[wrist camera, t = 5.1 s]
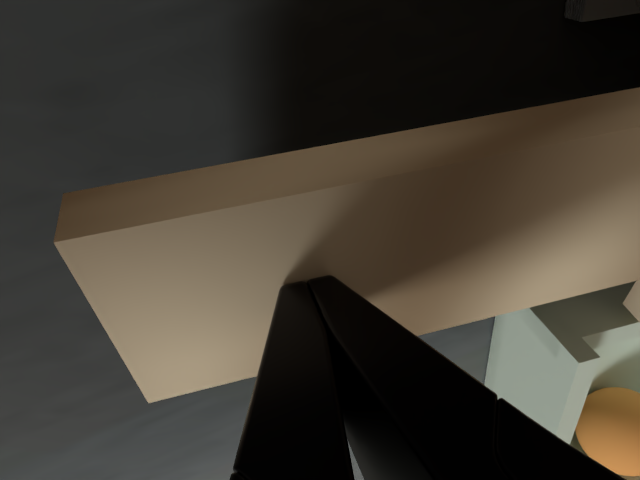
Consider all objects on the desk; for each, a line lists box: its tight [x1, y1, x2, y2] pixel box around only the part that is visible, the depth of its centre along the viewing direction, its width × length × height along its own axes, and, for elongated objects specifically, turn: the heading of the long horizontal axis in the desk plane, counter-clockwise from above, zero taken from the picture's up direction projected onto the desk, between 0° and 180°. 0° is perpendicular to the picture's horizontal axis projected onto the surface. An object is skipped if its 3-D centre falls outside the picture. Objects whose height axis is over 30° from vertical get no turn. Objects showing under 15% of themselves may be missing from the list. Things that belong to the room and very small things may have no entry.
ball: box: [575, 387, 640, 476], centre depth 18 cm, size 3×3×3 cm
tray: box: [484, 281, 640, 480], centre depth 17 cm, size 9×9×4 cm
